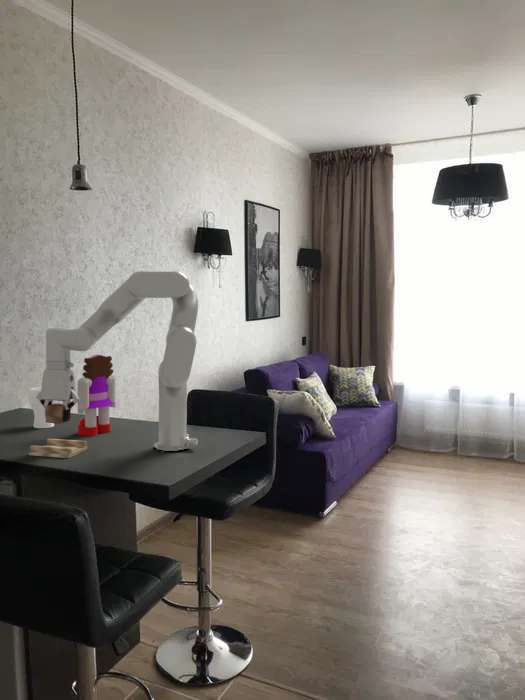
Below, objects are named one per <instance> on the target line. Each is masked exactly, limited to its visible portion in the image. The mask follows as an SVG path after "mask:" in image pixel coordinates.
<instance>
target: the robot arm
mask: <svg viewBox="0 0 525 700" xmlns="http://www.w3.org/2000/svg"><path fill="white" fill-rule="evenodd" d="M152 298H153V299H155V298H156V299H157V298H158V299H169V298H170V299H171V301H172V310H171V318H170V322H169V327H168V330H167V333H166V336H165V342H166V344H165V350H164V355H163V359H162V361H161V362H160V363H159V367H158V374H157V375H158V377H157V378H158V441H157V442H155V443H154V444H153V448H154V447H155V448H157V449H162V450H175V449H182V448H185V447H188V446H186V445H189V444H191V446H198V442H199V440H198V438H195V437H190V434H189V433H187V414H188V412H187V411H188V410H187V409H188V408H187V407H188V406H187V403H188V402H187V401H188V397H187V396H188V385H187V383H188V381H189V378H190V377H191V376H190V375H191V371H192V367H193V362H194V357H195V354H196V353H195V352H196V348H197V337H196V335H195V330H196V329H195V328H196V324H197V319H198V313H199V312H198V311H199V300H198V296H197V293H196V291H195V289H194V287H193V286H192V284H191V283H190V280H189V278H188V277H187V276H186V275H185V274H184V273H183V272H180V271H145V270H144V271H142V270H141V271H135V272H132V274H130V275H129V278H127V279H126V280H125V281H124V282H123V283H122V284H121V285H119V286H118V288H117V289H116V290H115V291H113V293H111V294H109V296H108V297H106V299H105V300H104V301H102V303H101V305H100V306H99V307H98V309H97V310H96V311H95V312H94V313H93V314H92V315H91V316H90V317H89V318H87V320H86V321H85V322H83V323H82V324H81V325H80V326H79V327H78V328H75V329H74V328H72V329H71V328H70V329H68V328H65V327H50V328H48V329H46V330H45V331H46V332H45V369H44V370H43V373H42V374H43V375H42V379H41V387H42V388H41V391H40V393H39V394H38V395H37V396H36V398H37V399H38V400H39V401H40V402H41V404H42V405H43V406H44V408H45V417H46V406H47V405H50V404H52V402H53V400H55V401H57V402H62V404H63V405H64V408H65V410H63V422H65V423H67V422H69V420H70V421H71V415H72V414H71V413H72V412H71V411H72V410H71V409H72V408H73V407H74V406H75V405H76V404H78V401H79V400H80V398H79V397H78V395H77V392H76V391H77V390H76V380H75V374H74V371H73V369H71V368H74V362H73V363H72V361H71V351H75V352H86V351H88V350H90V349H92V347H93V346H94V345H95V344H97V343H98V341H99V340H100V339H101V338H102V337H103V336H105V334H107V333H108V331H110V330H111V329H112V328H114V327H115V326H116V325H118V324H119V323H120V322H122V320H124V319H125V318H126V317H127V316H128V315H129V314H130V313H132V311H134V309H136V307H138V306H139V305H141V303H142V302H143V301H144V300H145V299H152Z"/></svg>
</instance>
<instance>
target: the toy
mask: <svg viewBox="0 0 525 700" xmlns="http://www.w3.org/2000/svg"><path fill="white" fill-rule="evenodd" d="M112 360H113V359H112V356H111V355H108V356H105V355H103V354H99V353H98V354H97V353H96V354H93V355H91V356H90V357H85V358H84V360H83V362H84V365H83V367H82V370H83V371H84V372H83V373H82V377H81V378H79V379H78V380H77V388H76V389H77V390H76V391H77V392H76V394H77V395H78V397H79V398H80V400H79V401H78V402H77V414H79V415H84V418H82V419H81V420H80V421H79V424H78V425H77V434H78V436H83V437H93V436H94V437H95V436H98V435H99V434H107V433H111V431H112V430H111V429H112V427H111V425H112V423H111V422H110V408H116V376H115V375H114V374H113V373H114V369H113V366H114V364H113V362H112ZM97 412H98V413H97Z"/></svg>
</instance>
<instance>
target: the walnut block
mask: <svg viewBox="0 0 525 700" xmlns="http://www.w3.org/2000/svg"><path fill="white" fill-rule="evenodd" d="M63 410H65V408H64V405H63V403H58V402H57V403H54V404H50V405H47V406H46V423H54V424H58V425H59V424H60V425H61V424H65V423H66V422H63ZM69 421H71V419H70V420H69ZM69 421H68V422H69Z"/></svg>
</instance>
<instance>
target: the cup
mask: <svg viewBox="0 0 525 700" xmlns="http://www.w3.org/2000/svg"><path fill="white" fill-rule="evenodd" d="M41 388H42V386H41V387H33V388H30V390H29V395H28V401H29V405H30V407H31V409H32V412H33V416H34V420H33V424H32V425H33V428H35V429H48V428H49V429H50V428H53V427H54V426H55V423H46V417H45V408H44V406H43V405H42V404H41V402H40V401H39V400H38V399H37V398H36V396H37V395H38V394H39V393H40V391H41ZM54 403H58V401H55V400H53V402H52V404H54Z"/></svg>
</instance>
